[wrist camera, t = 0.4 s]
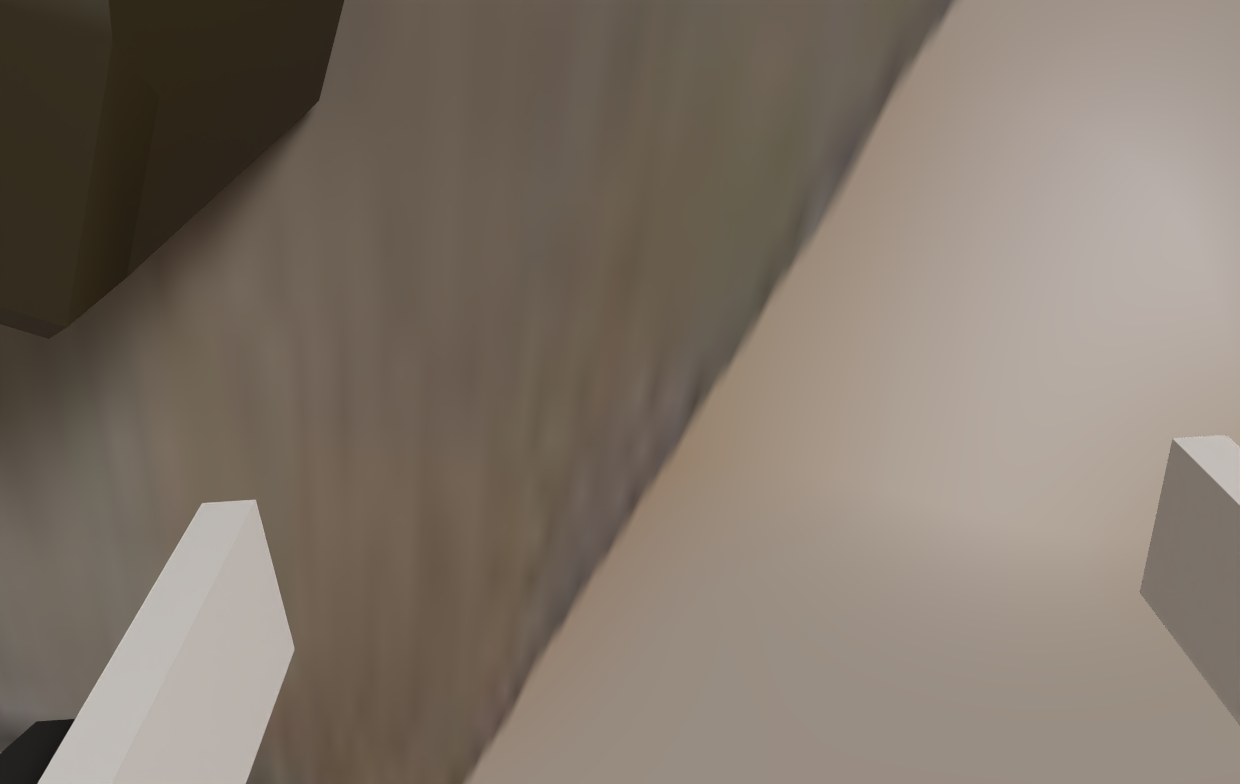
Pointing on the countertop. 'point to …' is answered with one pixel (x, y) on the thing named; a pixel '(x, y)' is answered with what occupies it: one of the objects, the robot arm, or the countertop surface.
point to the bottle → (134, 130)
